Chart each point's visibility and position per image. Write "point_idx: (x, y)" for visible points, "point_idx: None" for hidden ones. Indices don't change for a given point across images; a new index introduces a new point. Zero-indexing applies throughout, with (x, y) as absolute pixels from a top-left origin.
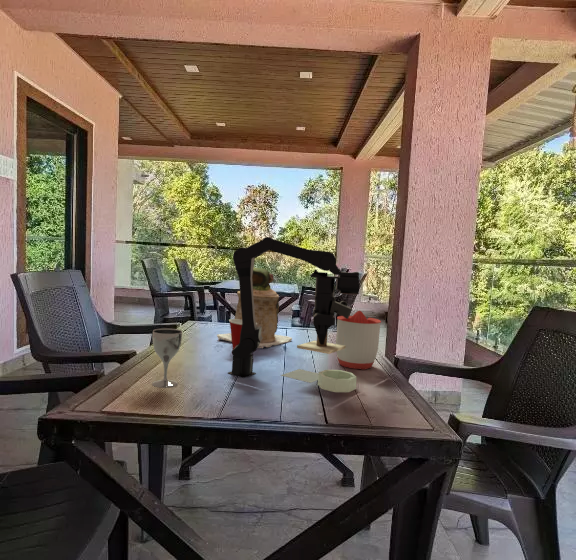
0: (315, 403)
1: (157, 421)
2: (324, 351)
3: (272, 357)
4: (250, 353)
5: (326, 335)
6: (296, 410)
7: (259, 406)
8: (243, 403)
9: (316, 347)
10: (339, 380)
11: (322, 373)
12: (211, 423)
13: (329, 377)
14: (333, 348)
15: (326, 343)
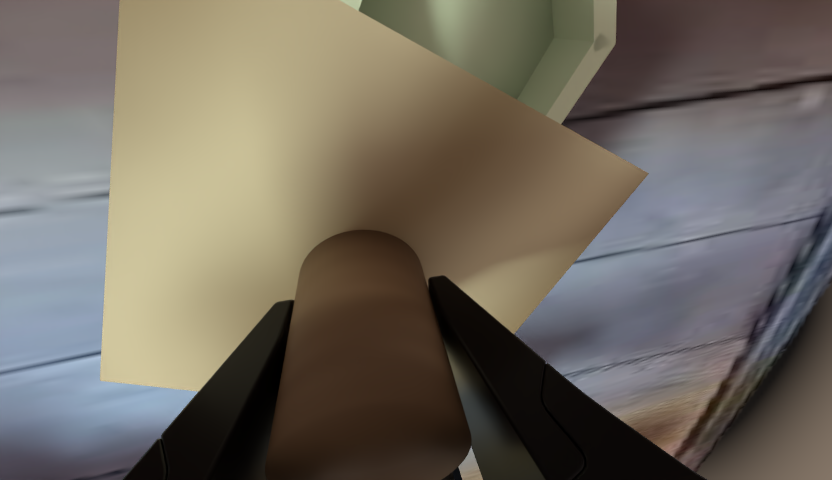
0: (698, 129)
1: (737, 397)
2: (599, 218)
3: (24, 415)
4: (460, 477)
5: (416, 348)
6: (753, 188)
7: (694, 288)
8: (664, 325)
9: (481, 305)
10: (611, 11)
11: None
12: (776, 335)
13: (568, 93)
14: (486, 136)
15: (386, 253)
